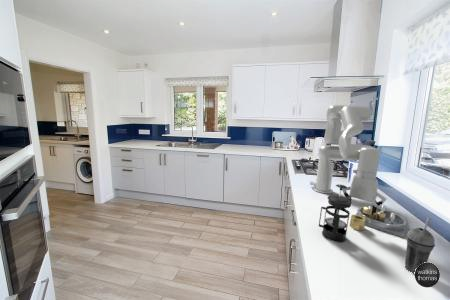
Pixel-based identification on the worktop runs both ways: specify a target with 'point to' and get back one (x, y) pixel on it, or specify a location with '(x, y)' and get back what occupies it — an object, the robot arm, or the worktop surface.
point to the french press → (336, 218)
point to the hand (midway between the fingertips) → (360, 210)
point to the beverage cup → (418, 247)
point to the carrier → (383, 220)
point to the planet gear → (357, 222)
